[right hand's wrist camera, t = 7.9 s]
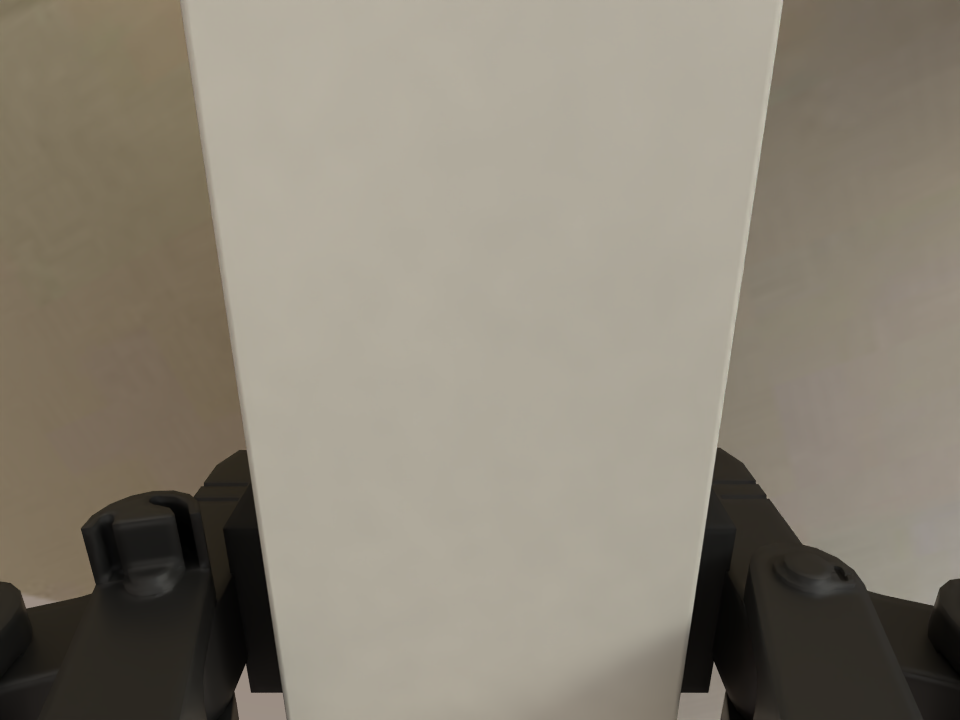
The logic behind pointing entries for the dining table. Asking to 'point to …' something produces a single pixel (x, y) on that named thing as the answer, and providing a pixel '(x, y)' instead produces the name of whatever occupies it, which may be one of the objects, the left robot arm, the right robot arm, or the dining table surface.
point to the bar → (481, 334)
